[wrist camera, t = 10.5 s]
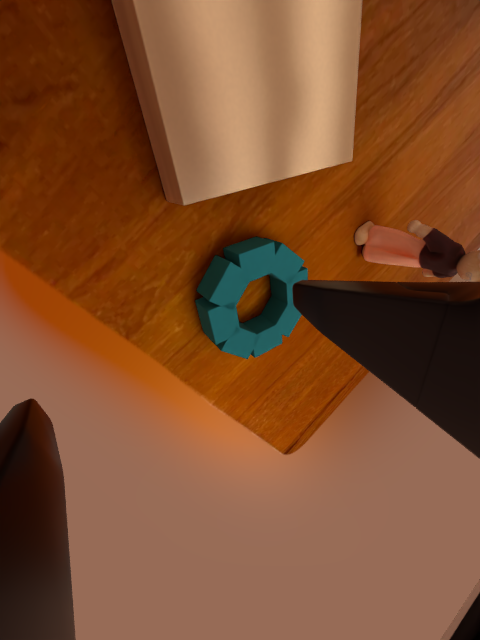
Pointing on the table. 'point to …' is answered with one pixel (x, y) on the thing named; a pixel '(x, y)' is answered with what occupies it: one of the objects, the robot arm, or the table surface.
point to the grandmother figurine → (418, 250)
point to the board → (242, 88)
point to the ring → (228, 286)
